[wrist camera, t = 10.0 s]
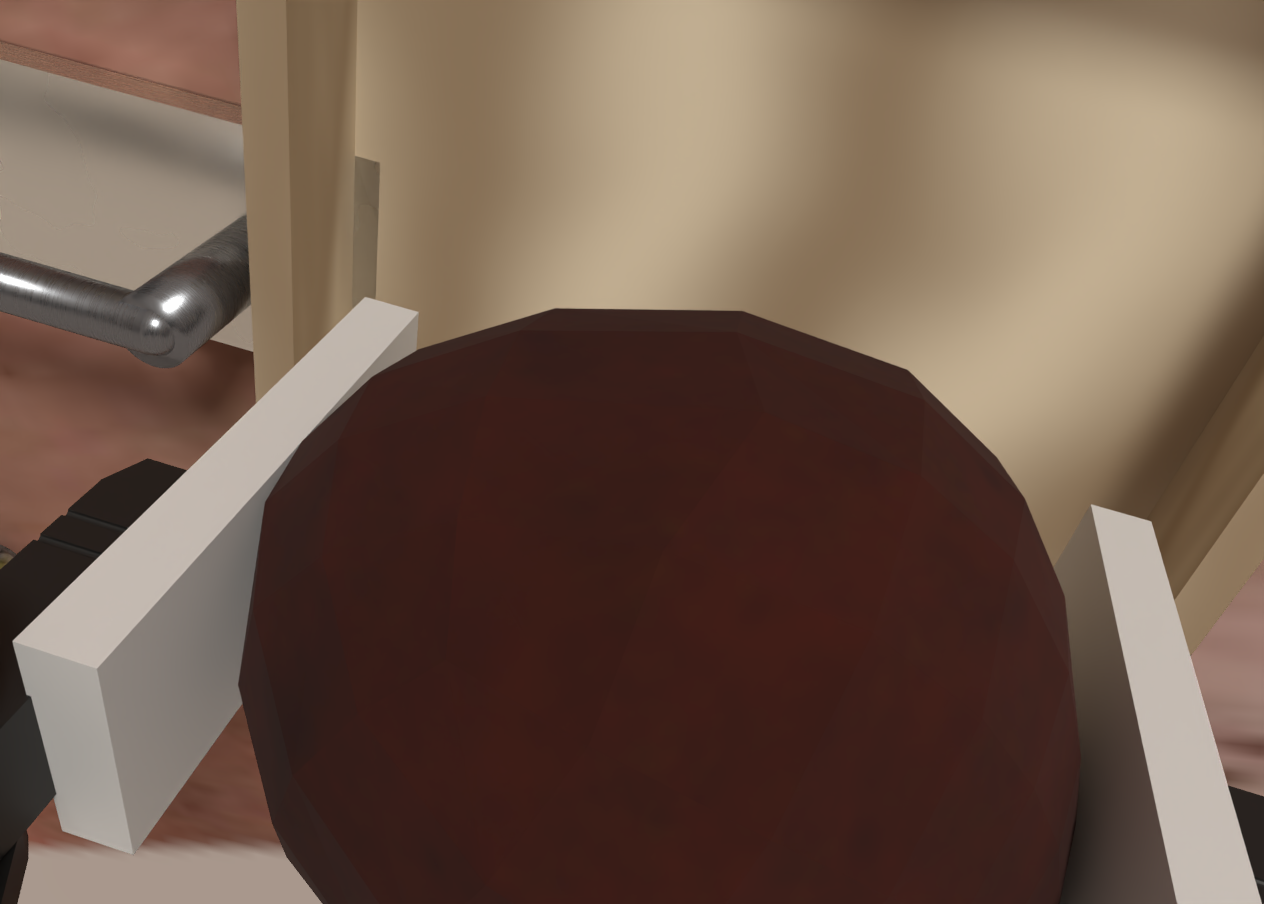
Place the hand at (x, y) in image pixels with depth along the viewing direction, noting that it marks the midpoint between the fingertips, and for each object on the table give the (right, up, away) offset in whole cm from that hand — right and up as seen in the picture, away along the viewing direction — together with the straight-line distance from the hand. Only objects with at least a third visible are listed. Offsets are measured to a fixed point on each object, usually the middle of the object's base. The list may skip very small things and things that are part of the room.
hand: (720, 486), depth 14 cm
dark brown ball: (0, 0, 0) cm, 0 cm away
